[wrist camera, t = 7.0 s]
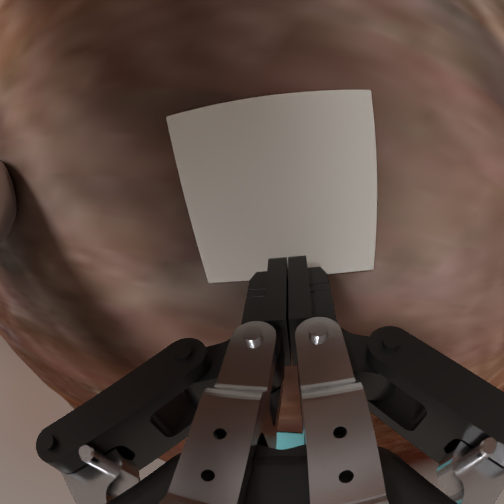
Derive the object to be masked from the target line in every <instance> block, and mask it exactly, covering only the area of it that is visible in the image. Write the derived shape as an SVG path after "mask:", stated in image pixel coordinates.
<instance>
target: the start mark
mask: <svg viewBox="0 0 504 504" xmlns="http://www.w3.org/2000/svg"><path fill="white" fill-rule="evenodd" d="M166 120H167V124H168V129H169V134H170V138H171V143H172V147H173V152H174V156H175V160H176V165H177V169H178V173H179V177H180V181H181V185H182V189H183V193H184V197H185V201H186V205H187V209H188V213H189V216H190V220H191V224H192V227H193V231H194V235H195V238H196V242H197V246H198V249H199V253H200V256H201V260H202V263H203V266H204V270H205V273H206V276H207V280H208V283H218V282H234V281H249V280H250V279H251V278H252V277H253V275H254V274H255V273H256V272H262V271H267V267H268V259H270V258H281V257H287V263H288V257H292V256H304V255H306V259H307V267H308V268H310V267H321V268H322V269H323V270H324V271H325V272H326V273H327V274H335V273H345V272H355V271H365V270H373V268H374V257H375V243H376V223H377V158H376V139H375V125H374V114H373V105H372V96H371V90H325V91H308V92H295V93H285V94H276V95H268V96H261V97H254V98H248V99H241V100H236V101H230V102H225V103H220V104H215V105H210V106H206V107H201V108H197V109H193V110H189V111H185V112H181V113H177V114H174V115H170V116H167V117H166Z"/></svg>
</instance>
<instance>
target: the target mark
mask: <svg viewBox="0 0 504 504" xmlns="http://www.w3.org/2000/svg"><path fill="white" fill-rule="evenodd" d="M300 445H303V433H292V432H277V445H276V449H279V450H284V449H289V448H293V447H297V446H300Z"/></svg>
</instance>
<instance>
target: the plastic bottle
mask: <svg viewBox="0 0 504 504" xmlns="http://www.w3.org/2000/svg"><path fill="white" fill-rule="evenodd" d="M15 217H16V196H15V190H14V186H13V183H12V180H11V177H10V174H9V172H8V170H7V168H6V167H5V165H4V164H3V163H2V162H1V161H0V243H1V242H2V241H3V240H4V239H5V238H6V237H7V236H8V234H9V233H10V231H11V228H12V226H13V223H14V220H15Z"/></svg>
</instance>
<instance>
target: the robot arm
mask: <svg viewBox="0 0 504 504" xmlns="http://www.w3.org/2000/svg"><path fill="white" fill-rule="evenodd" d="M291 350H292V360H293V365H297V367H298V382H299V394H300V405H301V416H302V429H303V445H300V446H297V447H293V448H289V449H284V450H279V449H276V445H277V426H278V420H279V413H280V406H281V399H282V392H283V380H284V368H285V366H291ZM369 411H370V412H372V413H373V414H374V415H375V416H377V417H378V418H379V419H380V420H382V421H383V422H384V423H386V424H387V425H388V426H389V427H391V428H392V429H393V430H394V431H396V432H397V433H398V434H400V435H401V436H402V437H404V438H405V439H406V440H408V441H409V442H410V443H412V444H413V445H414V446H416V447H417V448H418V449H420V450H421V451H422V452H424V453H425V454H426V455H428V456H429V457H431V458H432V459H433V460H435V461H436V462H437V463H439V465H438V468H437V479H438V482H439V483H440V485H441V486H442V487H443V488H444V489H445V491H446V493H447V495H446V494H444V493H443V492H442V491H440V490H439V489H438V488H436V487H435V486H434V485H433V484H431V483H430V482H429V481H427V480H426V479H425V478H424V477H423V476H421V475H420V474H419V473H418V472H416V471H415V470H414V469H413V468H412V467H410V466H409V465H408V464H407V463H406V462H404V461H403V460H402V459H401V458H400V457H398V456H397V455H396V454H394V453H392V452H391V451H389V450H387V449H385V448H382V447H379V446H377V442H376V438H375V433H374V429H373V424H372V420H371V416H370V412H369ZM186 437H187V439H186V441H185V444H184V447H183V450H182V453H179V454H178V455H176V456H174V457H173V458H171V459H170V460H168V461H167V462H166V463H165V464H163V465H162V466H161V467H159V468H158V469H157V470H155V471H154V472H153V473H151V474H150V475H148V476H147V477H145V478H144V479H143V480H141V481H140V477H139V470H141V469H142V468H143V467H145V466H147V465H148V464H149V463H151V462H153V461H154V460H155V459H157V458H158V457H160V456H161V455H163V454H164V453H165V452H167V451H168V450H170V449H171V448H172V447H174V446H175V445H177V444H178V443H179V442H181V441H182V440H183V439H185V438H186ZM36 450H37V453H38V455H39V457H40V458H41V459H42V460H43V461H45V462H46V463H48V464H50V465H51V466H53V467H55V468H56V469H58V470H59V471H60V472H61V473H62V475H63V477H64V479H65V481H66V483H67V486H68V488H69V490H70V492H71V494H72V496H73V498H74V500H75V502H76V504H494V503H495V501H496V500H497V498H498V497H499V495H500V493H501V492H502V490H503V488H504V392H502V391H501V390H499V389H498V388H496V387H494V386H493V385H491V384H490V383H488V382H487V381H485V380H483V379H482V378H480V377H479V376H477V375H475V374H474V373H472V372H471V371H469V370H467V369H466V368H464V367H463V366H461V365H459V364H458V363H456V362H455V361H453V360H451V359H450V358H448V357H447V356H445V355H443V354H442V353H440V352H439V351H437V350H435V349H434V348H432V347H430V346H429V345H427V344H426V343H424V342H422V341H421V340H419V339H417V338H416V337H414V336H413V335H411V334H409V333H408V332H406V331H404V330H402V329H400V328H398V327H392V326H388V327H382V328H379V329H377V330H375V331H374V332H373V333H372V334H371V336H370V337H368V336H361V335H355V334H351V333H349V332H347V331H345V330H344V329H342V328H341V327H340V326H339V324H338V322H337V320H336V315H335V310H334V305H333V300H332V295H331V290H330V285H329V280H328V275H327V273H326V272H325V271H324V270H323V269H322V268H321V267H310V268H308V267H307V259H306V255H304V256H292V257H288V263H287V257H281V258H270V259H268V267H267V271H262V272H256V273H255V274H254V275H253V277H252V278H251V279H250V281H249V287H248V292H247V298H246V303H245V308H244V313H243V318H242V324H241V325H240V326H239V327H238V328H236V329H235V330H234V332H233V333H232V335H231V338H230V339H229V340H228V341H226V342H223V343H220V344H216V345H212V346H208V347H205V346H204V344H203V343H202V342H201V341H199V340H197V339H194V338H184V339H180V340H178V341H175V342H174V343H172V344H171V345H169V346H168V347H166V348H165V349H164V350H162V351H161V352H159V353H158V354H156V355H155V356H154V357H152V358H151V359H149V360H148V361H146V362H145V363H143V364H142V365H141V366H139V367H138V368H136V369H135V370H133V371H132V372H130V373H129V374H127V375H126V376H124V377H123V378H122V379H120V380H119V381H117V382H116V383H114V384H113V385H111V386H110V387H108V388H107V389H105V390H104V391H102V392H101V393H99V394H98V395H96V396H95V397H93V398H91V399H90V400H88V401H87V402H85V403H84V404H82V405H81V406H79V407H78V408H76V409H75V410H73V411H71V412H70V413H68V414H67V415H65V416H64V417H62V418H61V419H59V420H57V421H56V422H54V423H53V424H51V425H49V426H48V427H46V428H45V429H43V430H42V432H41V433H40V434H39V436H38V438H37V442H36Z"/></svg>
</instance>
